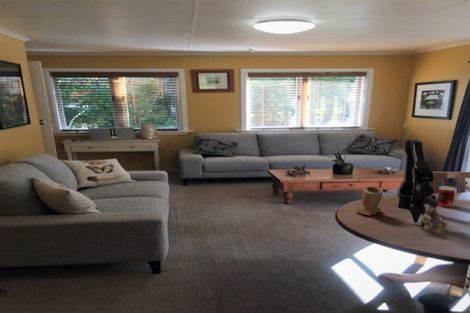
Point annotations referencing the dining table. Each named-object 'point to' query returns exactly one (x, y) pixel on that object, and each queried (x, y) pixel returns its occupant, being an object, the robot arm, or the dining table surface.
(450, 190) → the canned food
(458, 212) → the dining table surface
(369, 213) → the stone cup
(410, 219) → the block
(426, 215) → the shaft bench
